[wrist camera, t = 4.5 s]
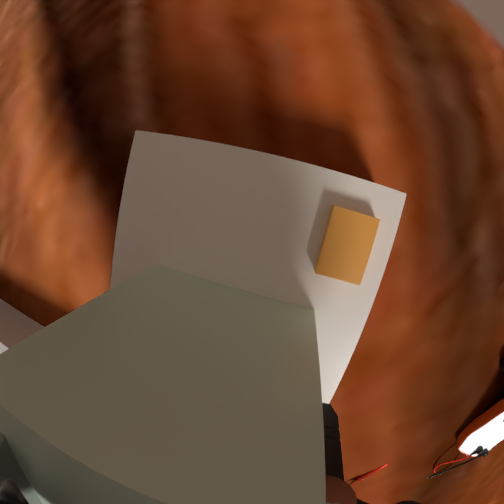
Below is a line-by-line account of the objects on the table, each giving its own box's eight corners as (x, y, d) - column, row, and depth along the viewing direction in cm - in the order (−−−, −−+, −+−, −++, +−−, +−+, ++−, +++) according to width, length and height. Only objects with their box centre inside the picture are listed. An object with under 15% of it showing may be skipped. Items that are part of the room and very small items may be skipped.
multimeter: (387, 516, 16) (392, 544, 13) (318, 464, 16) (318, 505, 12) (557, 396, 12) (576, 417, 9) (546, 297, 11) (579, 316, 8)
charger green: (182, 250, 12) (-32, 373, 3) (311, 286, 12) (324, 536, 2) (166, 357, 14) (41, 513, 4) (275, 391, 13) (234, 595, 3)
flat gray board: (174, 143, 13) (126, 127, 9) (378, 192, 12) (413, 194, 8) (140, 495, 19) (122, 525, 15) (236, 526, 18) (227, 561, 14)
